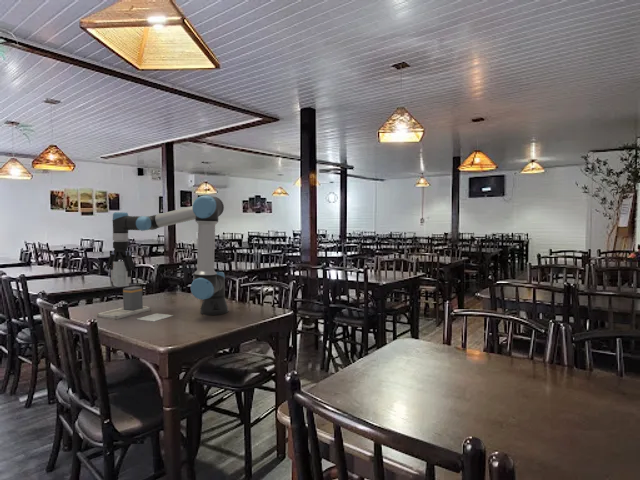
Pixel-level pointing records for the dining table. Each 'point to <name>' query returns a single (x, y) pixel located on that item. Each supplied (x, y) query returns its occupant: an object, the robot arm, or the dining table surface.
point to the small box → (119, 274)
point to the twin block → (132, 298)
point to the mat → (154, 317)
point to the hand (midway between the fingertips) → (121, 282)
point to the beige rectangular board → (121, 313)
